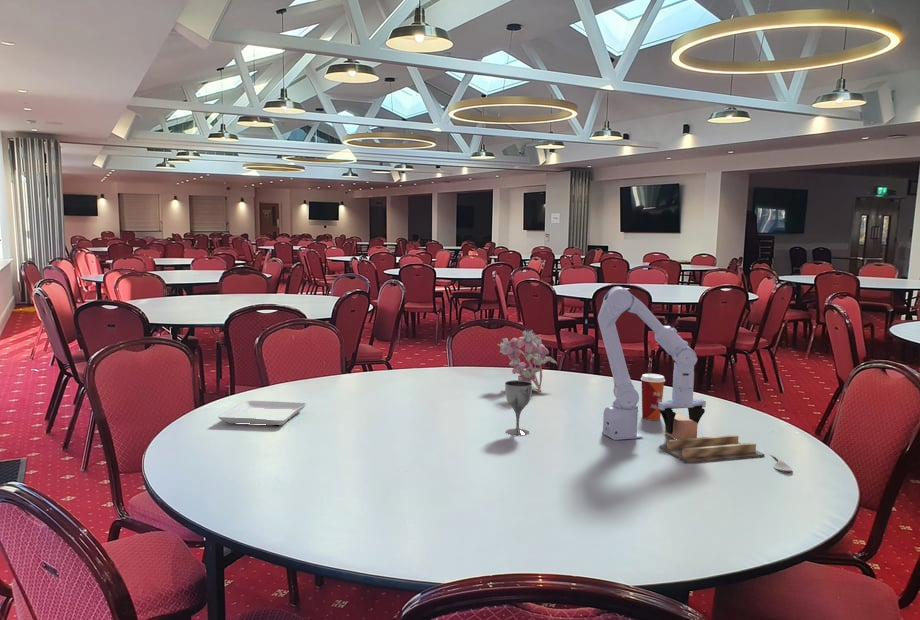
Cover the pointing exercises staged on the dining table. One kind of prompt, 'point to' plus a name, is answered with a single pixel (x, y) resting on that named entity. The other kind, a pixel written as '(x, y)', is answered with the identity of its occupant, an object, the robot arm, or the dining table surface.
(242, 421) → the salad plate
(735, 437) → the wooden stand
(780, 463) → the spoon
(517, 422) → the wine glass
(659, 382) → the paper cup
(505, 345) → the flower
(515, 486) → the dining table surface
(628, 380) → the robot arm
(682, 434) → the block
